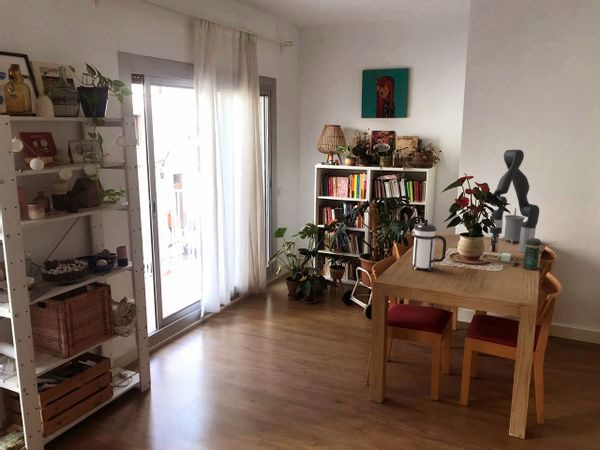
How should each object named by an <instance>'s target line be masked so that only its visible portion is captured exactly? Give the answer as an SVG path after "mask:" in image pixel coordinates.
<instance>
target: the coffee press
mask: <svg viewBox="0 0 600 450" xmlns="http://www.w3.org/2000/svg"><path fill="white" fill-rule="evenodd" d="M428 222H429V220H428V219H424V220H423V222H419V223H417V224H416V225H415V227H414V228H413V229H412V230H411V232H412V233H414V234H413V237H414V241H413V251H412V253H413V254H412V265H413V266H412V267H411V269H412V270H413V271H415V270H416V269H417V268H419V269H427V271H428V272H432V271H433V266H434V263H440V262H443V261H444V260H445V258H446V253H447V240H446V238H445V237H444V236H443V235H436V233H437V230H438V229H437V228H436V227H437V226H436V225H434V224H433V223H428ZM436 239H439V240H441V241H442V256H441V258H434V257H435V247H436V246H435V245H436Z"/></svg>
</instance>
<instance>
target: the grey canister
mask: <svg viewBox="0 0 600 450" xmlns="http://www.w3.org/2000/svg"><path fill="white" fill-rule="evenodd" d="M516 214H517V207H514V214H513V215H512V214H507V215H504V218H505V227H504V235H503V237H502V238H501V241H504V240H506V241H510V244H511V245H513V244H514V242H519V241H520V232H521V224H522V222H524V220H525V219H526V217H525V216H523V215H516Z"/></svg>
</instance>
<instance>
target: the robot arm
mask: <svg viewBox="0 0 600 450" xmlns="http://www.w3.org/2000/svg"><path fill="white" fill-rule="evenodd" d="M524 157H525V154H524V152H523V150H522V149H507V150H505V151H504V153H503V161H504V164H505V166H506V168H507V171H506V172H505V173H504V174H503V175H502V176H501V178H500V179H499V181H498V184H497V187H496V189H495V191H493V193H492V195H494V196H496V197H497V198H498V199H499V200H500V201H501V202H503V203H506V205H504V206H503V207H504V208H505V209H506V207H507V204H508V200H507V197H506V196H503V195H506V194H508V192H509V190H510V187H511V184H512V185H513V187H514V191H515V194H516V198H517V202H518V207H519V212H520V214H521V216H522V217H525V218H527V220H526V221H523V222H522V224H521V232H520V241H518V252H520V253H525V246H526V240H528V239H531V238H536V236H535V235H536V229H537V225H538V222H539V217H540V207H539V206H538V205H537V204H531V203H529V200H528V193H529V191H530V183H529V180H528V177H527V176H526V175H525V174H524V173H523V171H522V170H520V167H521V165H522V163H523V161H524ZM490 205H491V206H492V207H497V209H493V210H494V212H492V211H491V217H490V219H491V218H492V219H493V220H494V222H495V224H496V226H495V228H493V227H490V226H489V233H490V234H491V238H490V247H491V246H492V250H491V251H492V252H491V251H490V252H491V253H496V252H495V247H496V243H497V242H498V243H499V239H500V235H501V234H502V233H503V223H504V222H503V217H504V216H503V215H504V212H505V210H503V209H501V208H499V207H498V206H496V205H494V204H490ZM493 243H494V244H493Z"/></svg>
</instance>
